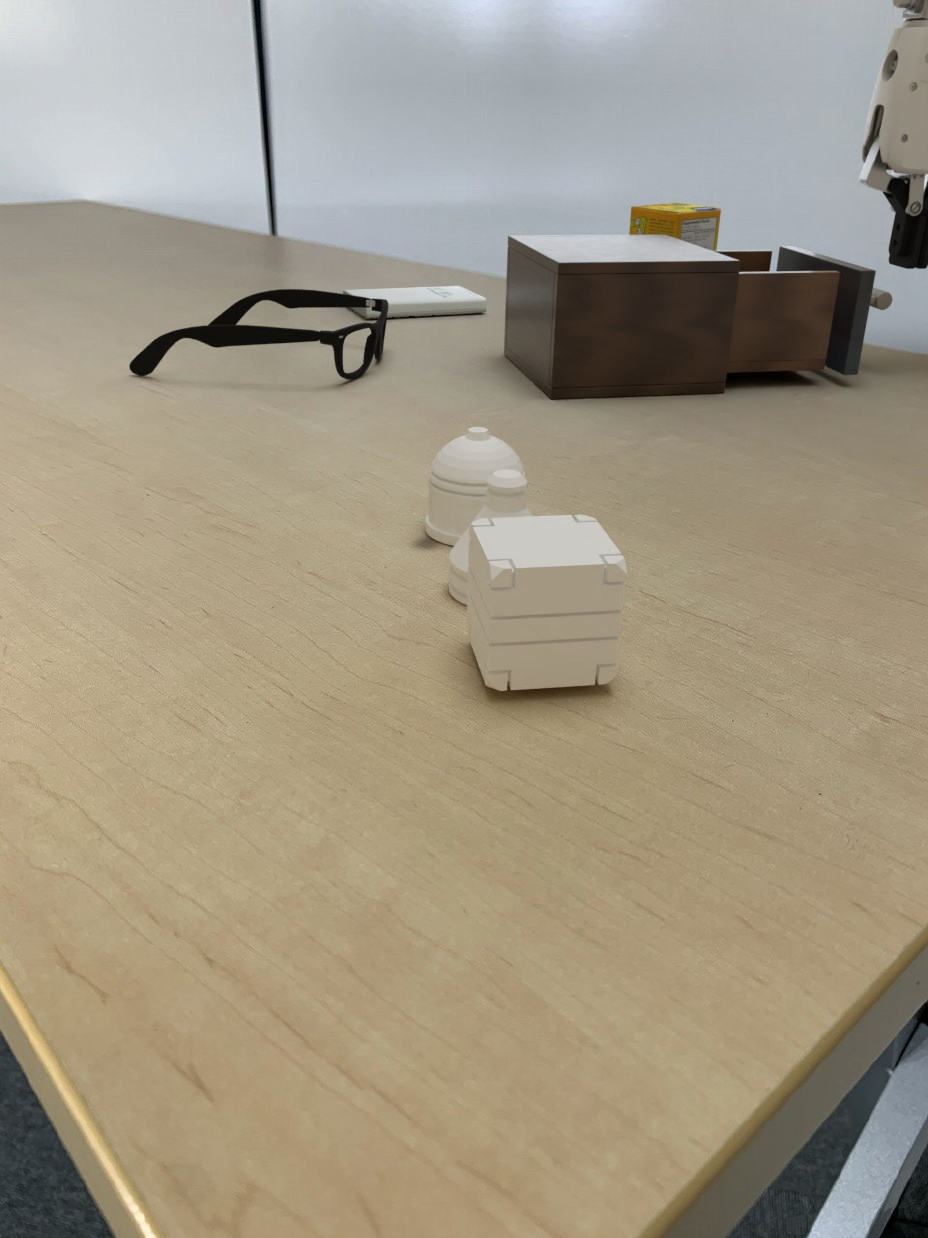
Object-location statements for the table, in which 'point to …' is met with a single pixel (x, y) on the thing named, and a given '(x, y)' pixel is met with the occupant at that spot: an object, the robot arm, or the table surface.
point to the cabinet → (619, 314)
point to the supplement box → (678, 222)
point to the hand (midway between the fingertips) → (907, 265)
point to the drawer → (800, 312)
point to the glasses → (276, 329)
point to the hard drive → (422, 301)
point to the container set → (524, 572)
